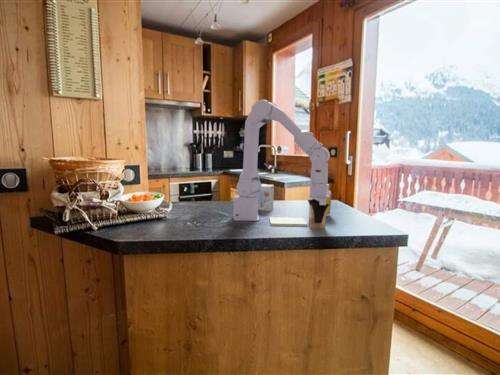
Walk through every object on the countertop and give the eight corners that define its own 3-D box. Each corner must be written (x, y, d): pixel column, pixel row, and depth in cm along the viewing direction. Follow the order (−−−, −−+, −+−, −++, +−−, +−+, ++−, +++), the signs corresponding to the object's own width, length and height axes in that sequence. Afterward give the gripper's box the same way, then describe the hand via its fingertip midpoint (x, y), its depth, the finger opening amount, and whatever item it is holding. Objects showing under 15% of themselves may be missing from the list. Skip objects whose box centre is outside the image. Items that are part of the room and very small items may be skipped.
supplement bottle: (330, 217, 117) (332, 185, 115) (313, 216, 118) (315, 184, 116) (329, 213, 123) (331, 183, 121) (313, 212, 125) (314, 182, 123)
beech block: (310, 228, 101) (311, 206, 100) (308, 225, 105) (309, 204, 104) (324, 228, 101) (326, 207, 100) (322, 225, 105) (323, 205, 104)
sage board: (270, 225, 104) (270, 223, 103) (269, 219, 112) (269, 217, 112) (307, 226, 103) (307, 224, 103) (303, 219, 112) (303, 217, 112)
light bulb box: (246, 209, 129) (246, 184, 128) (250, 206, 135) (251, 183, 134) (270, 211, 126) (270, 186, 124) (273, 208, 132) (274, 184, 131)
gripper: (336, 185, 93) (334, 227, 95) (325, 180, 108) (323, 216, 110) (314, 185, 94) (312, 226, 96) (306, 180, 108) (304, 216, 110)
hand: (316, 221), depth 103 cm, fingers closed on beech block, 3 cm apart
